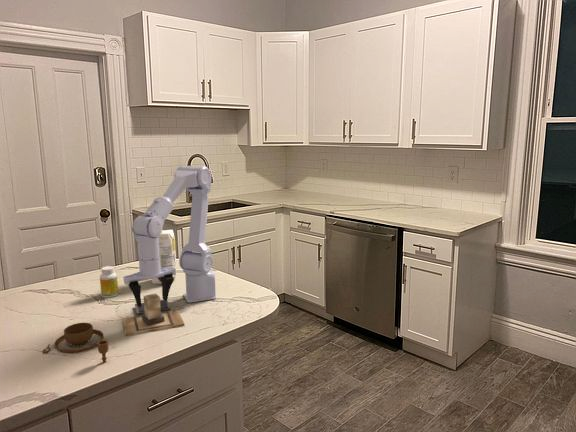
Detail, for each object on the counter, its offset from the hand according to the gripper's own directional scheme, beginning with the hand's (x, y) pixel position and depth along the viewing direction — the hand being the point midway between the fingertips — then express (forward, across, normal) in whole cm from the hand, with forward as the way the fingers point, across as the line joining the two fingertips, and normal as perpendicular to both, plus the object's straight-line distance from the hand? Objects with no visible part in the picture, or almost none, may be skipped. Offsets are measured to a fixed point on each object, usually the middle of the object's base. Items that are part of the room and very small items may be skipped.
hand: (152, 302), depth 129 cm
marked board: (+6, 0, 0) cm, 6 cm away
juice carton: (+7, -15, -33) cm, 37 cm away
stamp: (+6, 0, 0) cm, 6 cm away
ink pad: (+6, -3, -10) cm, 12 cm away
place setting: (+7, +21, +5) cm, 23 cm away
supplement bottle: (+6, +5, -30) cm, 31 cm away
